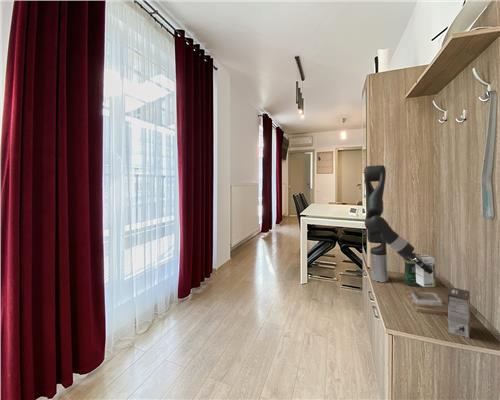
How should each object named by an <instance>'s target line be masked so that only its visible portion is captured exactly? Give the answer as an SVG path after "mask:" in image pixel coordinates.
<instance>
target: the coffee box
mask: <svg viewBox="0 0 500 400" xmlns="http://www.w3.org/2000/svg"><path fill="white" fill-rule="evenodd" d="M470 300H471V299H470V291H469V290H466V289H463V288H462V289H460V288H456V287H452V286H451V287H449V290H448V293H447V306H448V315H447V317H448V333H450V334H453V335H456V336H459V335H461V336H460V337H462V336H465V337H464V338H466V337H468V338H467V339H470V335H471V333H470V332H471V306H470V305H471V304H470V303H471V301H470Z"/></svg>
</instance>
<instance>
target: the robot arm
mask: <svg viewBox="0 0 500 400" xmlns="http://www.w3.org/2000/svg"><path fill="white" fill-rule="evenodd" d="M386 170H387V169H386V166H385V165H383V164H380V165H379V164H378V165H367V166H365V167H364V170H363V177H364V184H365V185H364V186H365V204H366V205H365V207H366V208H365V209H366V215H365V218H364V227H365V228H366V231H367V232H366V233H367V235H366V236H367V241H368V242H369V243H370V244H379V245H377V246H373V247H371V248H370V272H371V280H372V281H374V280H375V281H374V282H377V281H379V282H378V283H386V281H387V282H388V279H389V278H388V252H387V245H388V246H389V247H390V249H392V250H393V251H394V252H396V253H397V254H398V255H399V256H400V257H401V258H404V257H407V256H409V257H408V258H409V259H410V260H411V261H413V262H414V263H415V264H416V265H419V266H420V267H421V268H422V269H424V270H425V271H426V272H427V273H429V274H431V273H432V272H433V271H432V270H431V269H430V268H429V267H428V266H427V265H426V264H425V263H423V260H422V259H420V258H419V256H418V255H417V254H418V253H416V252H415V247H414V246H413V245H412V244H411V243H410V242H408V241H407V240H406V239H405V238H403V237H402V236H400V235H399V234H398V233H397V232H396V231H394V230H393V229H392V227H391V225H390V224H389V223H388V221H386V220H385V218H384V217H382V215H383V213H384V199H383V197H384V190H385V184H386V179H387V178H386V176H387V175H386V174H387V171H386ZM372 182H374V183H375V182H378V184H377V185H376V187H375V189H374V187H373V184H372ZM422 263H423V264H424V265H422V266H421V265H420V264H422Z"/></svg>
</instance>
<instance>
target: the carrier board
mask: <svg viewBox="0 0 500 400" xmlns="http://www.w3.org/2000/svg"><path fill="white" fill-rule="evenodd" d="M412 291H413V290H411V291H410V290H406V291H405V293H406V295H407V298H408V299H409V301H410V302H411V305H412V306H413V308H414V310H415V311H416V312H417V313H426V314H433V315H441V316H442V315H443V316H448V304H446V302H445V301H444V300H443V299H442V297H440V295H439V294H438V293H435V294H436V296H437V297H438V298H439V299H440V300H441V302H442V308H432V307H423V306H417V305H416V303H415V301H414V300H413V298H412ZM418 299H421V298H418ZM422 300H432V299H422ZM432 301H434V300H432Z"/></svg>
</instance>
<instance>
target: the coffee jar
mask: <svg viewBox="0 0 500 400" xmlns="http://www.w3.org/2000/svg"><path fill="white" fill-rule="evenodd" d="M416 254H417V255H421V254H419V253H416ZM408 257H409V256H407V257H404V258H403V257H402V258H403V259H402V260H403V263H404V274H403V283H404V284H405V285H408V286H410V287H422V286H421V285H419V284H418V283H416V264H415V263H414V262H413V261H411V260H410V259H409V258H408Z"/></svg>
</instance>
